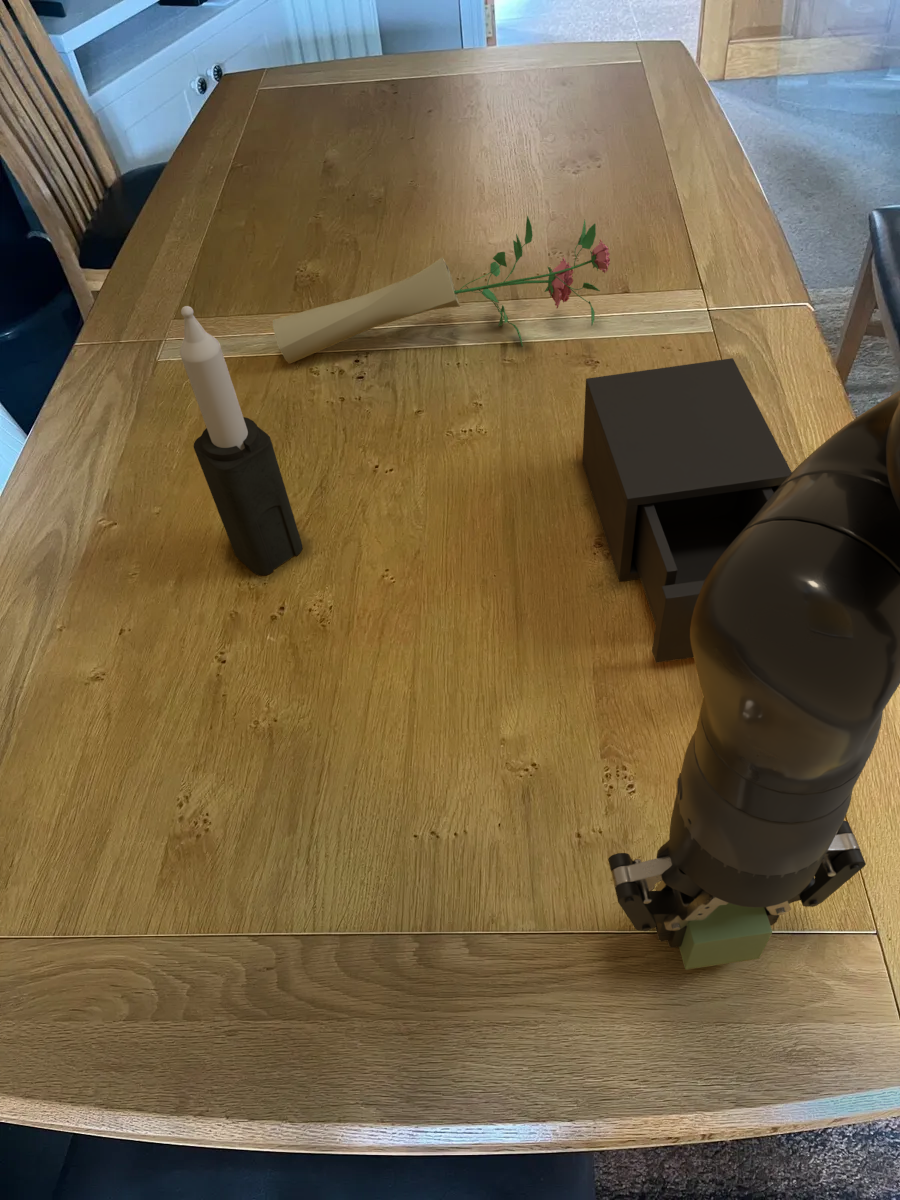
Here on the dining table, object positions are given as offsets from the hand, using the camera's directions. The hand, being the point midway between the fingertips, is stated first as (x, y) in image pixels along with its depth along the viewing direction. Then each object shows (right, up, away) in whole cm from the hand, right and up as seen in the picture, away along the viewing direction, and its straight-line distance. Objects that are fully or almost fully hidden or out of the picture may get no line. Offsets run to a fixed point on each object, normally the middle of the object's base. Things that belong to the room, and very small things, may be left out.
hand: (712, 925), depth 58 cm
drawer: (+5, +20, +16) cm, 26 cm away
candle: (-33, +25, +26) cm, 48 cm away
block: (0, 0, 0) cm, 0 cm away
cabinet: (+3, +28, +25) cm, 38 cm away
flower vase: (-17, +48, +43) cm, 67 cm away
